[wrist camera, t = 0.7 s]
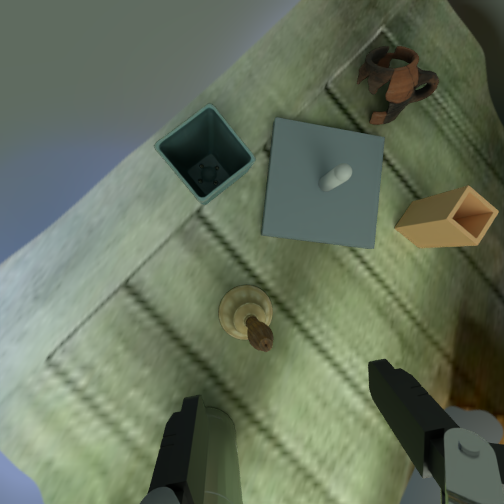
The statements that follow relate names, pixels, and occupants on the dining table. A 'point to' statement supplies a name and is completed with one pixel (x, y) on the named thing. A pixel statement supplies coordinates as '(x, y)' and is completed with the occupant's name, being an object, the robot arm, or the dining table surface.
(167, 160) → the flower pot
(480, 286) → the dining table surface
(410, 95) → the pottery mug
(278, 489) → the dining table surface
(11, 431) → the dining table surface
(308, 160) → the post board
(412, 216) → the collar
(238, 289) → the hand bell
